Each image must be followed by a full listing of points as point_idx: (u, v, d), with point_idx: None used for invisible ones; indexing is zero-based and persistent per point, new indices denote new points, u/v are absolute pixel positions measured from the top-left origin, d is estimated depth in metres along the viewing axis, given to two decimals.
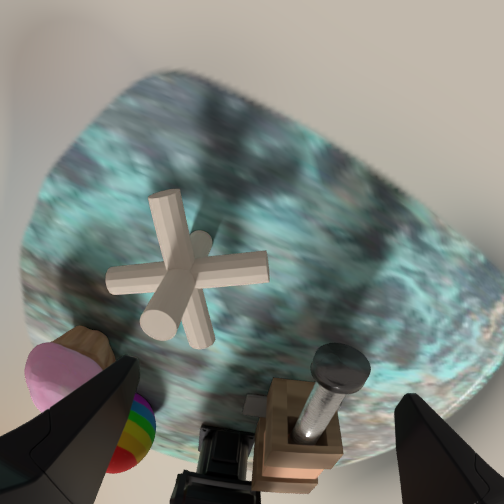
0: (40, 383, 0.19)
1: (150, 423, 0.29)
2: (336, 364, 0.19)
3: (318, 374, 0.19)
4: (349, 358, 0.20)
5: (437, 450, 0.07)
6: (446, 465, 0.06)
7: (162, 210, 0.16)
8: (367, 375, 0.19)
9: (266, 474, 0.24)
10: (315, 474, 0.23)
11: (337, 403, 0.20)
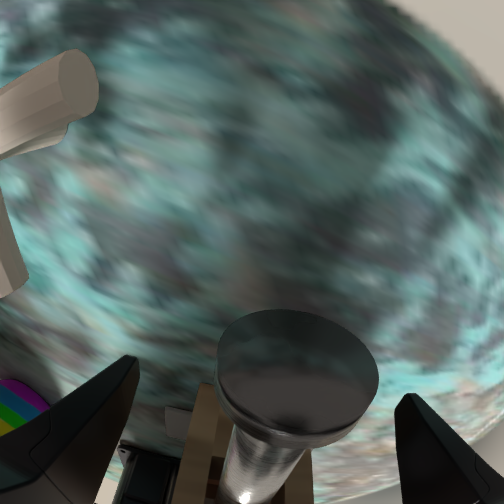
0: None
1: None
2: (280, 363, 0.07)
3: (222, 388, 0.06)
4: (320, 347, 0.08)
5: (437, 450, 0.07)
6: (445, 465, 0.06)
7: None
8: (370, 396, 0.06)
9: None
10: None
11: (292, 457, 0.08)
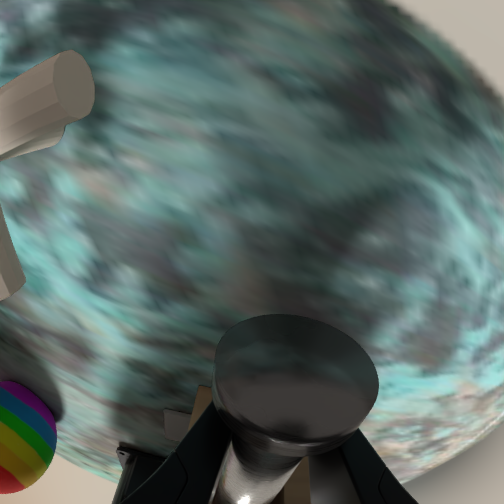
0: None
1: (39, 435, 0.16)
2: (278, 369, 0.07)
3: (220, 395, 0.06)
4: (319, 353, 0.08)
5: (340, 457, 0.07)
6: (346, 476, 0.06)
7: None
8: (369, 403, 0.06)
9: None
10: None
11: (291, 463, 0.07)
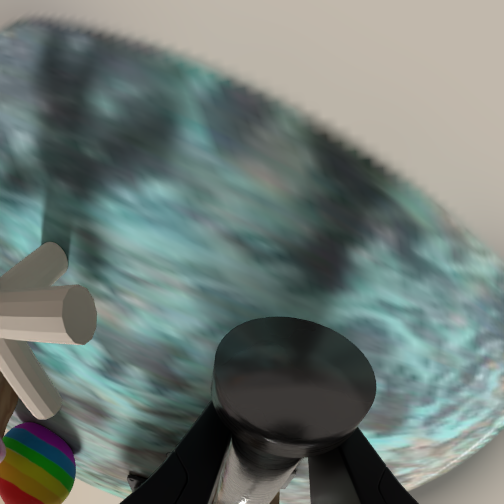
0: None
1: (62, 469, 0.19)
2: (277, 372, 0.07)
3: (219, 397, 0.06)
4: (317, 355, 0.08)
5: (340, 457, 0.07)
6: (346, 476, 0.06)
7: None
8: (367, 405, 0.06)
9: None
10: None
11: (289, 463, 0.08)
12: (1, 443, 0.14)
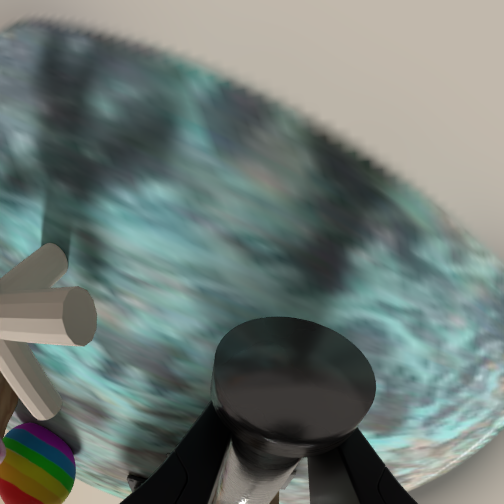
0: None
1: (62, 469, 0.19)
2: (276, 371, 0.07)
3: (219, 397, 0.06)
4: (317, 355, 0.08)
5: (339, 456, 0.07)
6: (346, 476, 0.06)
7: None
8: (366, 405, 0.06)
9: None
10: None
11: (289, 463, 0.08)
12: (1, 444, 0.14)
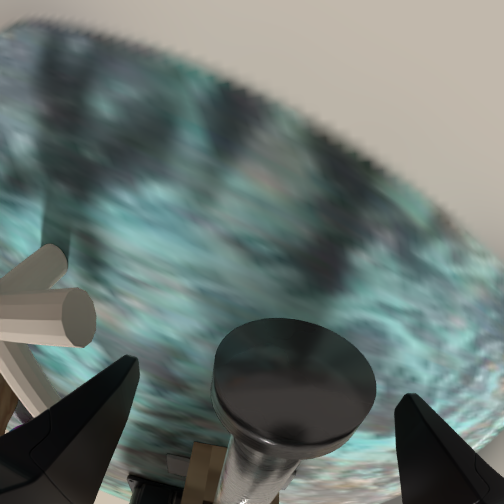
0: None
1: None
2: (277, 373, 0.07)
3: (219, 399, 0.06)
4: (318, 357, 0.08)
5: (437, 449, 0.07)
6: (445, 465, 0.06)
7: None
8: (367, 407, 0.06)
9: None
10: None
11: (289, 465, 0.07)
12: None
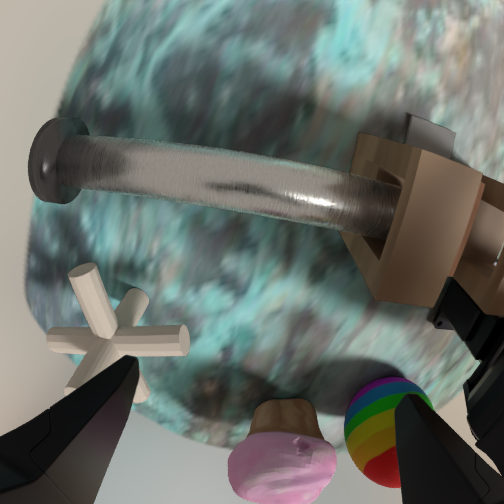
0: (242, 495, 0.19)
1: (389, 395, 0.21)
2: None
3: (49, 201, 0.12)
4: None
5: (437, 450, 0.07)
6: (445, 465, 0.06)
7: (55, 347, 0.17)
8: (41, 129, 0.11)
9: None
10: None
11: (97, 155, 0.11)
12: (301, 437, 0.20)
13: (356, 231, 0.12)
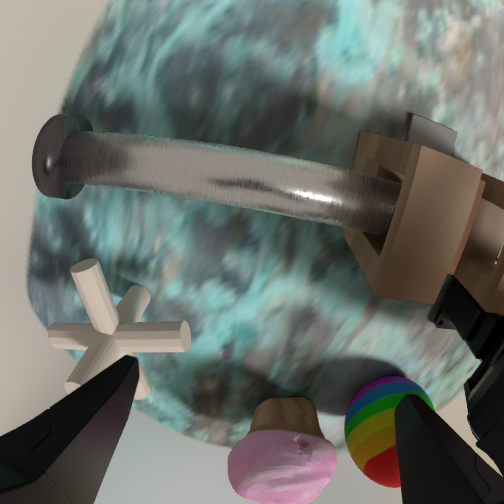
0: (242, 493, 0.19)
1: (389, 394, 0.21)
2: None
3: (52, 196, 0.12)
4: None
5: (437, 450, 0.07)
6: (445, 465, 0.06)
7: (56, 342, 0.17)
8: None
9: None
10: None
11: (100, 150, 0.11)
12: (302, 435, 0.20)
13: (356, 227, 0.12)
